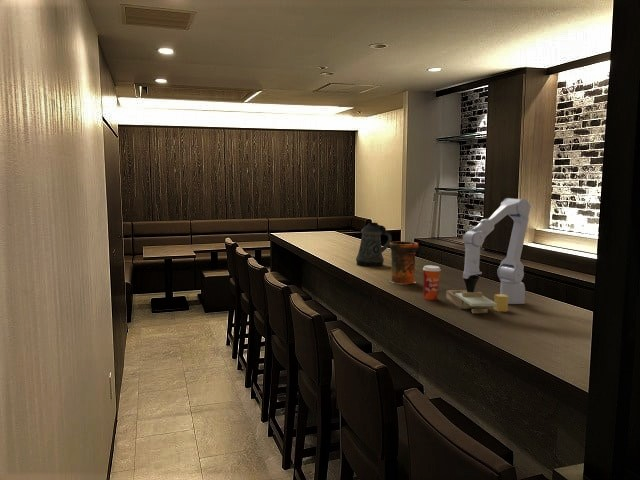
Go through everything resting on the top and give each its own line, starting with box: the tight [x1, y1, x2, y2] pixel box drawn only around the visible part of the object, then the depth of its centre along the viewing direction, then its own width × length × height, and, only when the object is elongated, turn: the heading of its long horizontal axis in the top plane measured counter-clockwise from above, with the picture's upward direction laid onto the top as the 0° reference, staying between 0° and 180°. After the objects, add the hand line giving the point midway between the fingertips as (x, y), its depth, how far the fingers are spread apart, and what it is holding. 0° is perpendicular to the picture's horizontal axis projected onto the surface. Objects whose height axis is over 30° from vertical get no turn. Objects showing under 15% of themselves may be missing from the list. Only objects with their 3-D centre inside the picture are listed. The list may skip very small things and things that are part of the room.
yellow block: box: [493, 293, 509, 312], centre depth 211 cm, size 4×4×6 cm
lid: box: [455, 291, 497, 307], centre depth 210 cm, size 10×18×3 cm, turn 6°
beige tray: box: [445, 290, 488, 314], centre depth 217 cm, size 10×25×4 cm, turn 6°
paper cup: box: [422, 265, 442, 301], centre depth 228 cm, size 8×8×14 cm
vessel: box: [388, 241, 419, 285], centre depth 262 cm, size 14×14×20 cm
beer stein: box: [355, 222, 392, 268], centre depth 313 cm, size 16×19×25 cm
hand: (470, 293), depth 215 cm, fingers closed
